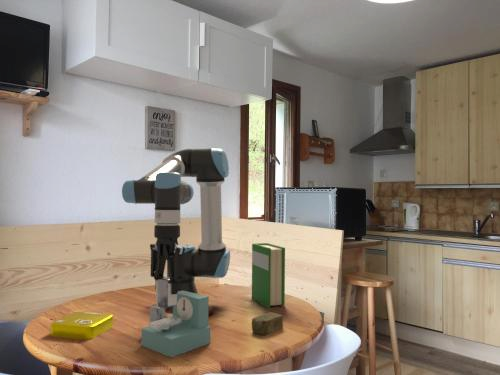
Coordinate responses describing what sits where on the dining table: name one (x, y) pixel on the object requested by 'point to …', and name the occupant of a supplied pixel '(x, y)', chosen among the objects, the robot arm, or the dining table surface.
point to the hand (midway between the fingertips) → (166, 303)
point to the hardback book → (268, 274)
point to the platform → (165, 323)
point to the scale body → (182, 327)
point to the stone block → (267, 323)
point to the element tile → (82, 325)
